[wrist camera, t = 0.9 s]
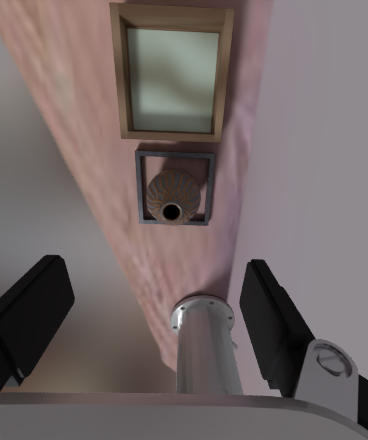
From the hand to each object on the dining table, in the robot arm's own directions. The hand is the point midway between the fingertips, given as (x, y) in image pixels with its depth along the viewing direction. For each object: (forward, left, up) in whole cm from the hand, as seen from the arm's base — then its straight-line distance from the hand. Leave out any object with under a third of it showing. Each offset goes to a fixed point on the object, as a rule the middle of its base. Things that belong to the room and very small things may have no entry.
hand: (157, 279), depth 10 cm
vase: (-1, +1, -20) cm, 20 cm away
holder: (+8, -8, -20) cm, 23 cm away
